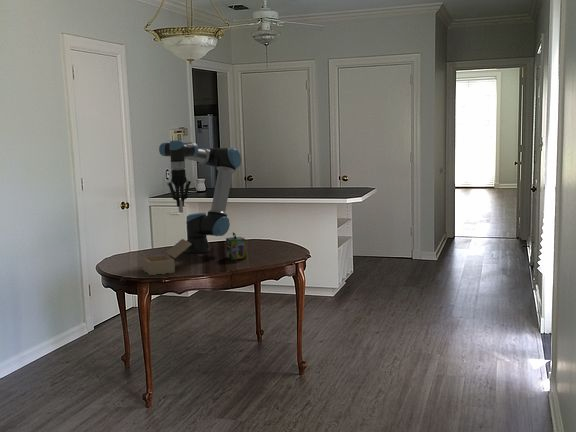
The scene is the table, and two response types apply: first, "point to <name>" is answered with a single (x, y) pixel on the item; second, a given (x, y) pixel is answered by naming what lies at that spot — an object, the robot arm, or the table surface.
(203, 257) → the table surface
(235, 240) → the colorful juice box
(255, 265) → the table surface
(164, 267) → the box
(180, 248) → the lid
